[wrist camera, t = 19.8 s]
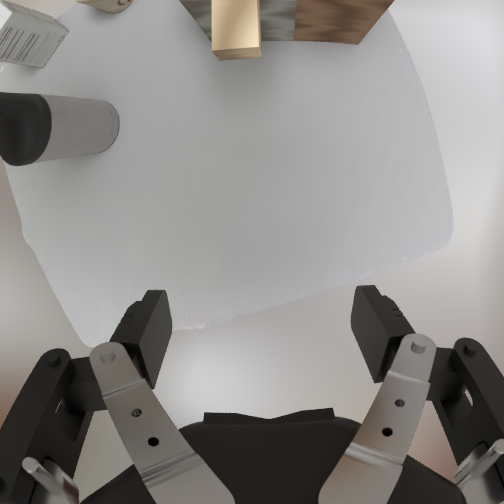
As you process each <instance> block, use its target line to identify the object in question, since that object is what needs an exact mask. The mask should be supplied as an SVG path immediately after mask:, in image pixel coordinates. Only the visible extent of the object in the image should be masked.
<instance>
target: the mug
mask: <svg viewBox="0 0 504 504" xmlns="http://www.w3.org/2000/svg"><path fill="white" fill-rule="evenodd" d="M75 1H77V2H79V3H83V4H86V5H89V6H92V7H95V8H98V9H101V10H104V11H107V12H110V13H117V12H120V11H122V10H124V9H125V8H127V7H128V6H129V5H130V4H131V2H132V1H133V0H75Z"/></svg>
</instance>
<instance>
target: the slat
mask: <svg viewBox="0 0 504 504" xmlns="http://www.w3.org/2000/svg"><path fill="white" fill-rule="evenodd" d="M212 51H213V53H214V54H215V55H216V56H217V58H218V59H219V60H230V59H244V58H262V53H261V29H260V7H259V0H212Z"/></svg>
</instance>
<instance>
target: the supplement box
mask: <svg viewBox="0 0 504 504" xmlns="http://www.w3.org/2000/svg"><path fill="white" fill-rule="evenodd" d="M68 32H69V31H68V30H67V29H66V28H65V27H64V26H63V25H61V24H60V23H59V22H58V21H56V20H55V19H54V18H53V17H51V16H49V15H47V14H44V13H41V12H38V11H36V10H33V9H30V8H26V7H24V6H20V5H18V4H14V3H11V2H8V1H4V0H0V62H7V63H15V64H22V65H29V66H36V67H42V68H43V67H44V66H45V64H46V63H47V61H48V60H49V59H50V57H51V56H52V54H53V53H54V51H55V50H56V48H57V47H58V46H59V44H60V43H61V42H62V40H63V39H64V38H65V36H66V35H67V34H68Z"/></svg>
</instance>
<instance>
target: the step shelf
mask: <svg viewBox="0 0 504 504" xmlns="http://www.w3.org/2000/svg"><path fill="white" fill-rule="evenodd" d="M179 1H180V2H181V3H182V4H183V5H184V7H185V8H186V9H187V10H188V12H189V13H190V14H191V15H192V17H193V18H194V19H195V21H196V22H197V23H198V24H199V26H200V27H201V28H202V30H203V31H204V32H205V33H206V35H207V36H208V37H209V39H210V40H211V41H212V0H179ZM393 1H394V0H259V7H260V29H261V41H321V42H336V43H348V44H357V45H358V44H359V43H360V42H361V40H362V39H363V38H364V37H365V35H366V34H367V33H368V32H369V30H370V29H371V28H372V27H373V26H374V24H375V23H376V22H377V21H378V19H379V18H380V17H381V16H382V15H383V13H384V12H385V11H386V10H387V9H388V7H389V6H390V5H391V4H392V3H393Z"/></svg>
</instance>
